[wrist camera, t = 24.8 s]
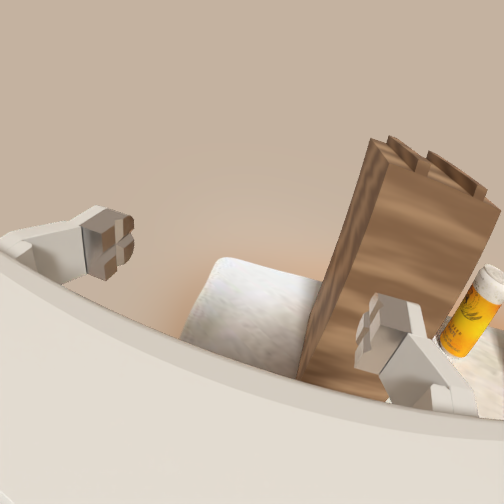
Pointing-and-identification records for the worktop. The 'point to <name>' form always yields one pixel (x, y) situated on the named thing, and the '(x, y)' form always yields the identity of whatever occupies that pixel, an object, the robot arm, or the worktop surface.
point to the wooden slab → (395, 257)
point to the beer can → (474, 312)
